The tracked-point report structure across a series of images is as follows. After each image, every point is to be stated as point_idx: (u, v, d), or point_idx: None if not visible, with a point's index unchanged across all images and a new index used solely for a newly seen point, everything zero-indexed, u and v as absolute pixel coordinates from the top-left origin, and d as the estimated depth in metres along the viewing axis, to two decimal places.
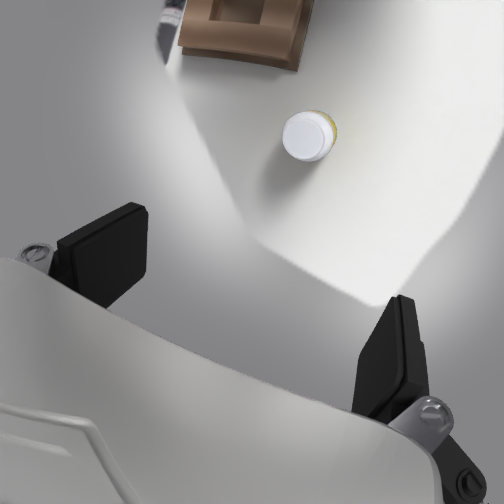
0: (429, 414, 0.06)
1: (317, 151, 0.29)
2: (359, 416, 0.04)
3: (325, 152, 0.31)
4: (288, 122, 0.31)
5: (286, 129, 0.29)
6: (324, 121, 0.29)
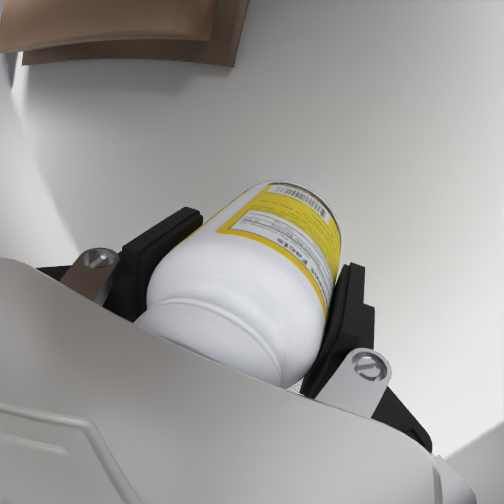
0: (364, 365, 0.07)
1: None
2: (359, 416, 0.04)
3: (289, 386, 0.09)
4: (154, 282, 0.08)
5: None
6: (291, 295, 0.07)
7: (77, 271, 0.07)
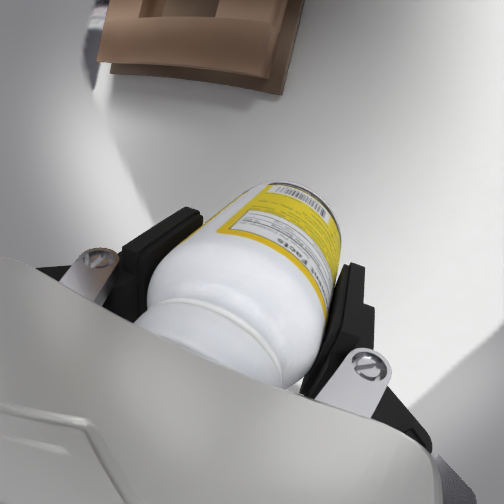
0: (364, 365, 0.07)
1: None
2: (359, 416, 0.04)
3: (289, 385, 0.09)
4: (154, 282, 0.08)
5: None
6: (291, 295, 0.07)
7: (77, 271, 0.07)
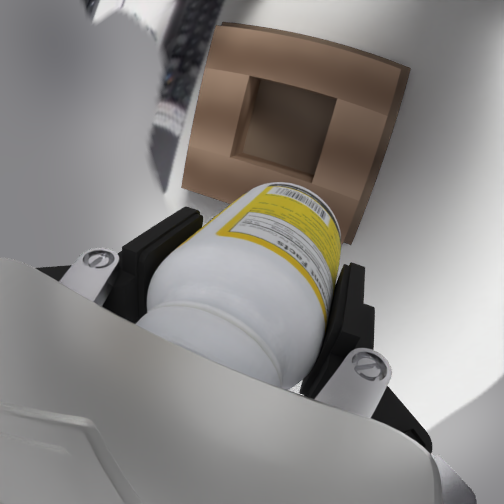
0: (364, 365, 0.07)
1: None
2: (359, 416, 0.04)
3: (289, 387, 0.09)
4: (154, 285, 0.08)
5: None
6: (291, 297, 0.07)
7: (77, 271, 0.07)
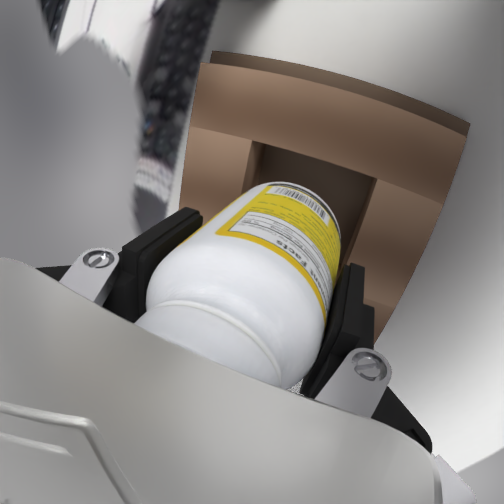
0: (364, 366, 0.07)
1: None
2: (359, 416, 0.04)
3: (289, 387, 0.09)
4: (153, 284, 0.08)
5: None
6: (290, 297, 0.07)
7: (77, 271, 0.07)
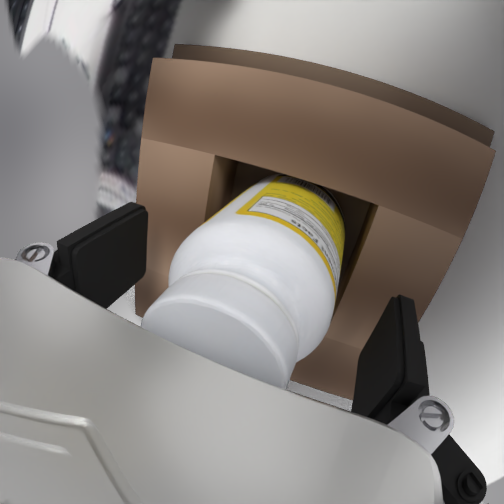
0: (429, 414, 0.06)
1: None
2: (359, 416, 0.04)
3: (302, 357, 0.10)
4: (178, 260, 0.09)
5: (146, 323, 0.07)
6: (305, 267, 0.08)
7: None
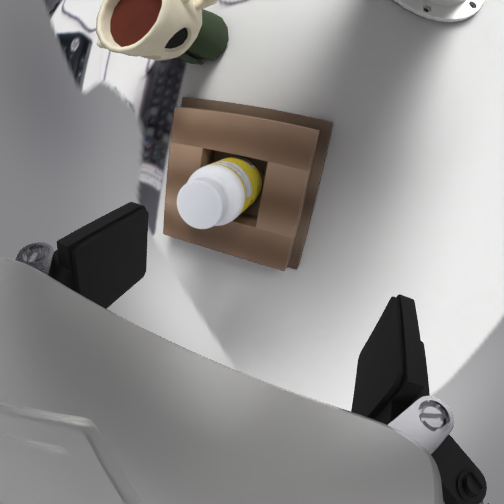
0: (429, 414, 0.06)
1: (216, 219, 0.24)
2: (359, 416, 0.04)
3: (234, 214, 0.27)
4: (189, 181, 0.26)
5: (179, 194, 0.25)
6: (230, 177, 0.25)
7: None
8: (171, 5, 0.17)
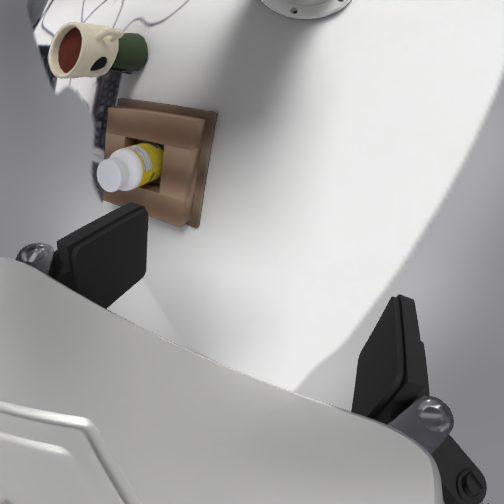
0: (429, 414, 0.06)
1: (118, 185, 0.34)
2: (359, 416, 0.04)
3: (134, 182, 0.36)
4: None
5: (98, 168, 0.34)
6: (131, 156, 0.34)
7: None
8: (88, 45, 0.25)
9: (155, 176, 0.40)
